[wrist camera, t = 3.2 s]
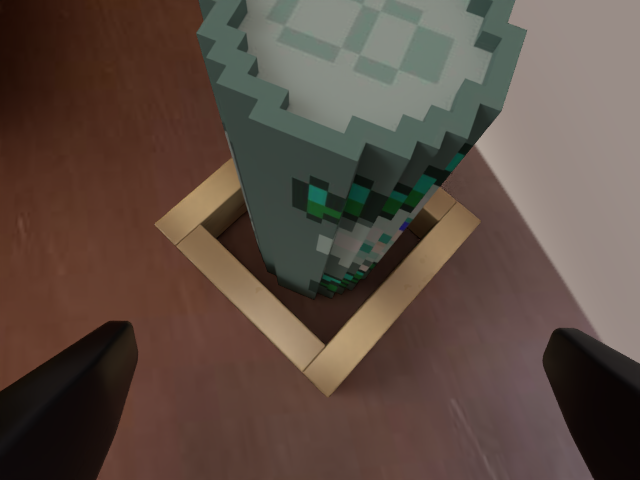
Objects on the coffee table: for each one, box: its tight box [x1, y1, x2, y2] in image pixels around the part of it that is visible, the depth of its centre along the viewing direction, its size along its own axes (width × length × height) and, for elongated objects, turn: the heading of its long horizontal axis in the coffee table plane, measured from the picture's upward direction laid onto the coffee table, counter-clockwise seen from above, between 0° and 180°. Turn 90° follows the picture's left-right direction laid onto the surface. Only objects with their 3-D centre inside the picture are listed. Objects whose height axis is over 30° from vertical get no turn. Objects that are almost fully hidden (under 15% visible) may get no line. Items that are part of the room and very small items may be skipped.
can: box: [196, 0, 527, 300], centre depth 15 cm, size 6×6×15 cm
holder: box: [155, 158, 481, 397], centre depth 21 cm, size 11×11×3 cm
